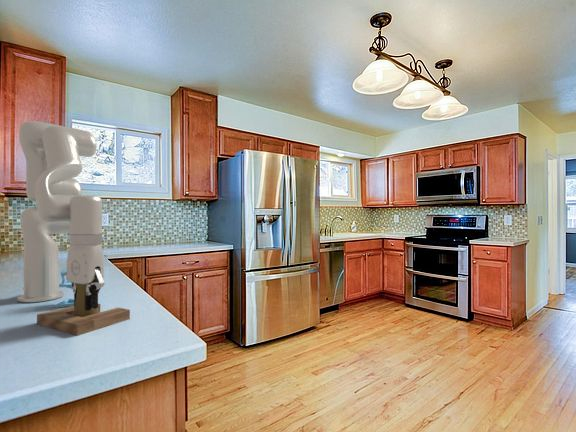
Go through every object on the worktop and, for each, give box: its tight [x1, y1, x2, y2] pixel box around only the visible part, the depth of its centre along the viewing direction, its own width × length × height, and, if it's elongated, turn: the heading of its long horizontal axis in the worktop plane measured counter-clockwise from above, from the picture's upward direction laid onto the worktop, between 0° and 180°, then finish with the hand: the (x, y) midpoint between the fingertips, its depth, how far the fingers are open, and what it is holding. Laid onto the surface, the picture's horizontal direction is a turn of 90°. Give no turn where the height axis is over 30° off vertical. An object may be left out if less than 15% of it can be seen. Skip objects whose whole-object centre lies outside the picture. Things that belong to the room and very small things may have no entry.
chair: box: [54, 267, 74, 309], centre depth 104 cm, size 8×8×12 cm
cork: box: [73, 280, 99, 317], centre depth 88 cm, size 6×6×11 cm
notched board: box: [36, 303, 131, 336], centre depth 87 cm, size 18×14×2 cm
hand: (86, 307), depth 88 cm, fingers closed on cork, 4 cm apart
